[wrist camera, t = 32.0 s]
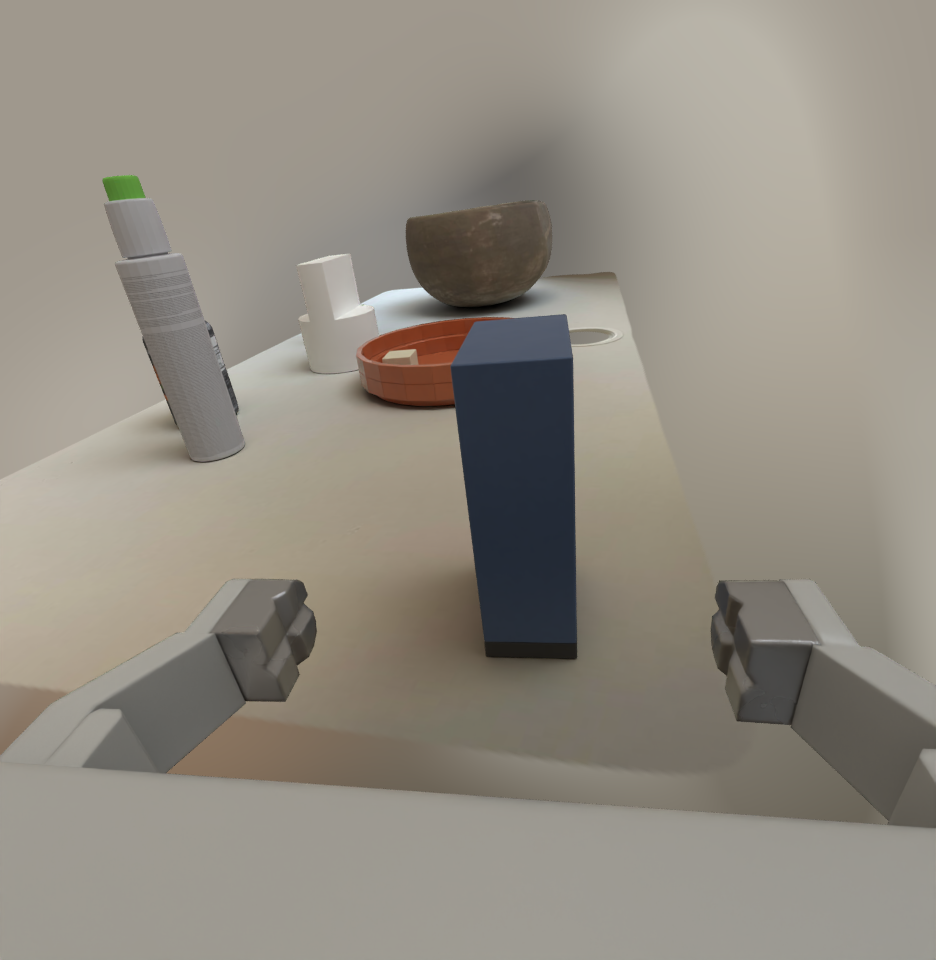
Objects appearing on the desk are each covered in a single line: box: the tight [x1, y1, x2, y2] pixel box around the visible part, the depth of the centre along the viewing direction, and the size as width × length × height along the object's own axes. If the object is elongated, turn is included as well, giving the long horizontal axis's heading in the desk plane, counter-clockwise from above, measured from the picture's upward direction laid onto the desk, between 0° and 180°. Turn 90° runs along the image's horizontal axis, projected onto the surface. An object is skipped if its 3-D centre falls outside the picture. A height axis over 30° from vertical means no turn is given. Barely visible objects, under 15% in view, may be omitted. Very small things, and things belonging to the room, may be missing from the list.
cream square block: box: [382, 349, 418, 365], centre depth 56 cm, size 3×3×2 cm
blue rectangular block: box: [450, 314, 577, 658], centre depth 21 cm, size 4×6×12 cm, turn 173°
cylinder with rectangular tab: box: [296, 254, 379, 374], centre depth 63 cm, size 9×9×12 cm
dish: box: [356, 317, 514, 406], centre depth 55 cm, size 19×19×4 cm
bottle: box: [103, 175, 245, 462], centre depth 40 cm, size 4×4×20 cm
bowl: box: [406, 200, 552, 307], centre depth 88 cm, size 24×24×15 cm
